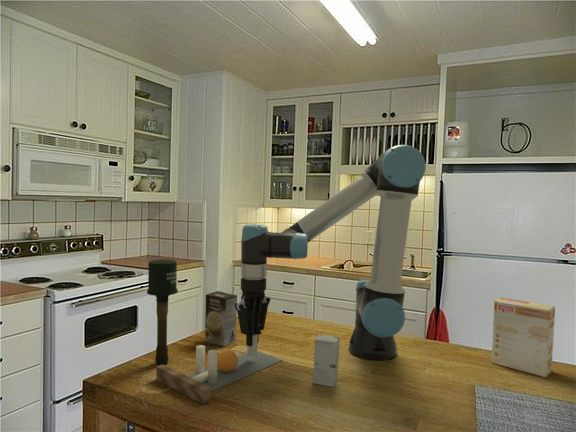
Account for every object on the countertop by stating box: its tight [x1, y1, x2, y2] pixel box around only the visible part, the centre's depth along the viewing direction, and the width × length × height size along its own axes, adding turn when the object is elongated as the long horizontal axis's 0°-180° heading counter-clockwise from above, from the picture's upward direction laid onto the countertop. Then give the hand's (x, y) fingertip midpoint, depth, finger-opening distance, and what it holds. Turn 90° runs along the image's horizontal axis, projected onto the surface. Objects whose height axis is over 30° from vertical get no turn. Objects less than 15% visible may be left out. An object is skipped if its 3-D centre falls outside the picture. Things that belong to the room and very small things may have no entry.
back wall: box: [155, 365, 212, 406], centre depth 109 cm, size 20×2×4 cm, turn 50°
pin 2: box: [207, 349, 218, 385], centre depth 113 cm, size 2×2×8 cm
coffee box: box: [204, 290, 238, 347], centre depth 144 cm, size 9×6×16 cm
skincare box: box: [312, 334, 341, 388], centre depth 115 cm, size 6×4×12 cm
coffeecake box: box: [491, 297, 556, 378], centre depth 129 cm, size 15×7×20 cm, turn 47°
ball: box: [217, 349, 238, 372], centre depth 120 cm, size 6×6×6 cm
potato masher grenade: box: [146, 259, 179, 366], centre depth 124 cm, size 8×9×30 cm
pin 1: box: [195, 344, 206, 375], centre depth 116 cm, size 2×2×8 cm
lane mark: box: [186, 350, 283, 392], centre depth 122 cm, size 12×29×1 cm, turn 140°
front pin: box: [191, 371, 218, 383], centre depth 114 cm, size 2×2×8 cm
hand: (252, 355), depth 128 cm, fingers closed
